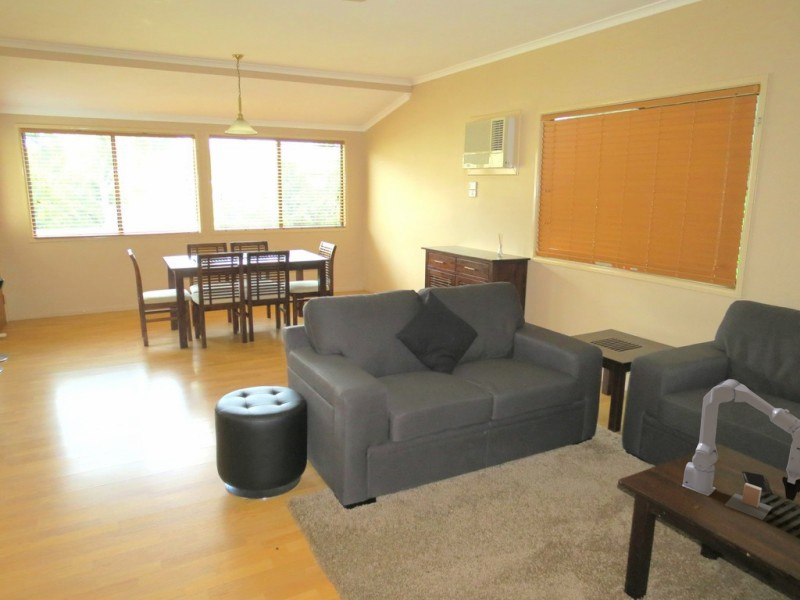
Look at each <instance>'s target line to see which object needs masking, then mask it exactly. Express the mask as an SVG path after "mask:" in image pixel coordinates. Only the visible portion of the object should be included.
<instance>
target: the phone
mask: <svg viewBox="0 0 800 600" xmlns="http://www.w3.org/2000/svg"><path fill="white" fill-rule="evenodd" d="M741 476H742V478H743V480H744V482H745V483H749V484H751V485H754V486H757V487H760V488H762V490H761V494H762V493H763V494H766V495H767V494H768V495H771V494H772V491H771V488H770V486H769V483H768V482H767V478H766V477H765V475H763V474H760V473H755V472H749V471H743V470H742V471H741ZM745 483H744V484H745Z"/></svg>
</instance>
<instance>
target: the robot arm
mask: <svg viewBox="0 0 800 600" xmlns="http://www.w3.org/2000/svg"><path fill="white" fill-rule="evenodd" d="M733 399H734V401H733ZM731 401H733V402H734V403H747V404H748V405H750V406H751V407H753V408H755V409H757V410H759V411H760V412H761V413H763V414H765V415H767V416H768V418H769V421H770V422H771V423H772V424H774V425H775V426H777V427H778V428H780V429H782V430H783V431H784V432H786V433H788V434H789V435H791V438H792V442H791V445H790V450H789V456H788V462H787V466H786V468H785V471H786V474H787V477H786V476H783V477H782V479H781V481H782V483H783V486H784V493H785V499H786V500H790V501H792V502H793V501H794V500H795V499H796V496H797V494H798V493H800V419H799V418H798V417H796V416H795V415H793V414H792V413H790V410H788V409H787V408H785V409H783V408H781V407H780V408H776V407H774V406H773V405H772V404H770V403H769V402H768V401H766V400H765V399H763V398H762V397H760V396H759V395H758V394H756V393H754V392H753V391H752V390H751V389H749V388H748V387H747V386H746V385H745V384H742V383H740V382H739V381H738V380H736V379H733V378H728V379H726V380H723V381H721V382H720V383H718V384H717V385H716V386H713V387H712V388H711V389H710V391H708V392H707V393H706V394H705V395H704V396H703V398H702V408H701V418H700V428H699V429H700V431H699V439H698V440H699V441H698V444H697V447H696V448H695V453H694V455H693V456H692V458H691V461H689V462H687V464H686V465H685V468H684V474H683V481H682V485H681V486H682V488H686V489H688V490H692V491H694V492H697V493H699V494H702V495H704V496H707V497H710V495H712V493H713V492H714V491H715V490H716V489H717V488H716V487H714V486H713V485H714V478H715V471H716V467H715V463H716V462H718V460H719V454H718V451H717V445H716V435H717V425H718V415H719V406H720V404H722V403H728V402H731Z"/></svg>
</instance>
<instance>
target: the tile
mask: <svg viewBox="0 0 800 600" xmlns="http://www.w3.org/2000/svg"><path fill="white" fill-rule="evenodd" d="M761 490H762V488H760V487H757V486H754V485H751V484H749V483H744V485H743V490H742V491H743V493H742V496H743V497H742V502H743V503H746V504H748V505H751V506H754V507H756V508H758V506H759V502H760V501H761V495H762V493H761ZM760 503H761V502H760Z"/></svg>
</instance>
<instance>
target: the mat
mask: <svg viewBox="0 0 800 600" xmlns="http://www.w3.org/2000/svg"><path fill="white" fill-rule="evenodd" d="M742 497H743V494H742V495H741V494H738V493H737V492H736V493H734V494H733V495H732V496H731V497H730V498H729V500H727V501H726V502H725V504H724V506H726V507H728V508H731V509H734V510H736V511H738V512H742V513H744V514H746V515H749V516H751V517H754V518H757V519H759V520H762V521H763V520H764V519H765V518H766V516H767V515H768V514H769V512H770V511H771V509H773V506H770V505H768V504H765V503H763V502H759V506H758V508H756V507H754V506H751V505H748V504H746V503H743V502H742Z"/></svg>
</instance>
